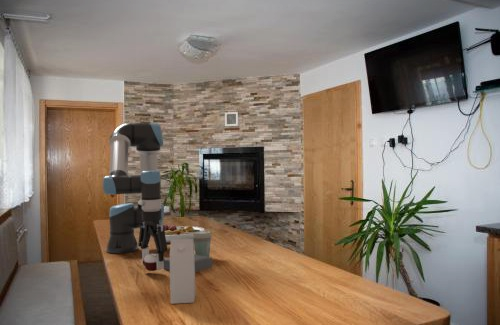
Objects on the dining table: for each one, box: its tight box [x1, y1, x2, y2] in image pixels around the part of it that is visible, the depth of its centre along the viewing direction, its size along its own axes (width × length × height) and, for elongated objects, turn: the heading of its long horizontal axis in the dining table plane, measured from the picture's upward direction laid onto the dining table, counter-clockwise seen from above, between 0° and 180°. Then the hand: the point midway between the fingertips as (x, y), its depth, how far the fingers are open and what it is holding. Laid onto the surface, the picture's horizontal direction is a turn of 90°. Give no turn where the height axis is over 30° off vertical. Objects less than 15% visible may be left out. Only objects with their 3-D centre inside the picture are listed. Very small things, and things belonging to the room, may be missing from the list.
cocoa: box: [142, 250, 158, 272], centre depth 151 cm, size 10×6×12 cm, turn 44°
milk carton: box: [169, 239, 196, 305], centre depth 122 cm, size 7×7×19 cm
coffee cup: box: [193, 230, 212, 257], centre depth 174 cm, size 8×9×12 cm
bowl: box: [161, 223, 206, 244], centre depth 223 cm, size 30×30×8 cm
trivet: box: [163, 253, 213, 273], centre depth 159 cm, size 14×14×4 cm
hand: (152, 266), depth 151 cm, fingers closed on cocoa, 9 cm apart
